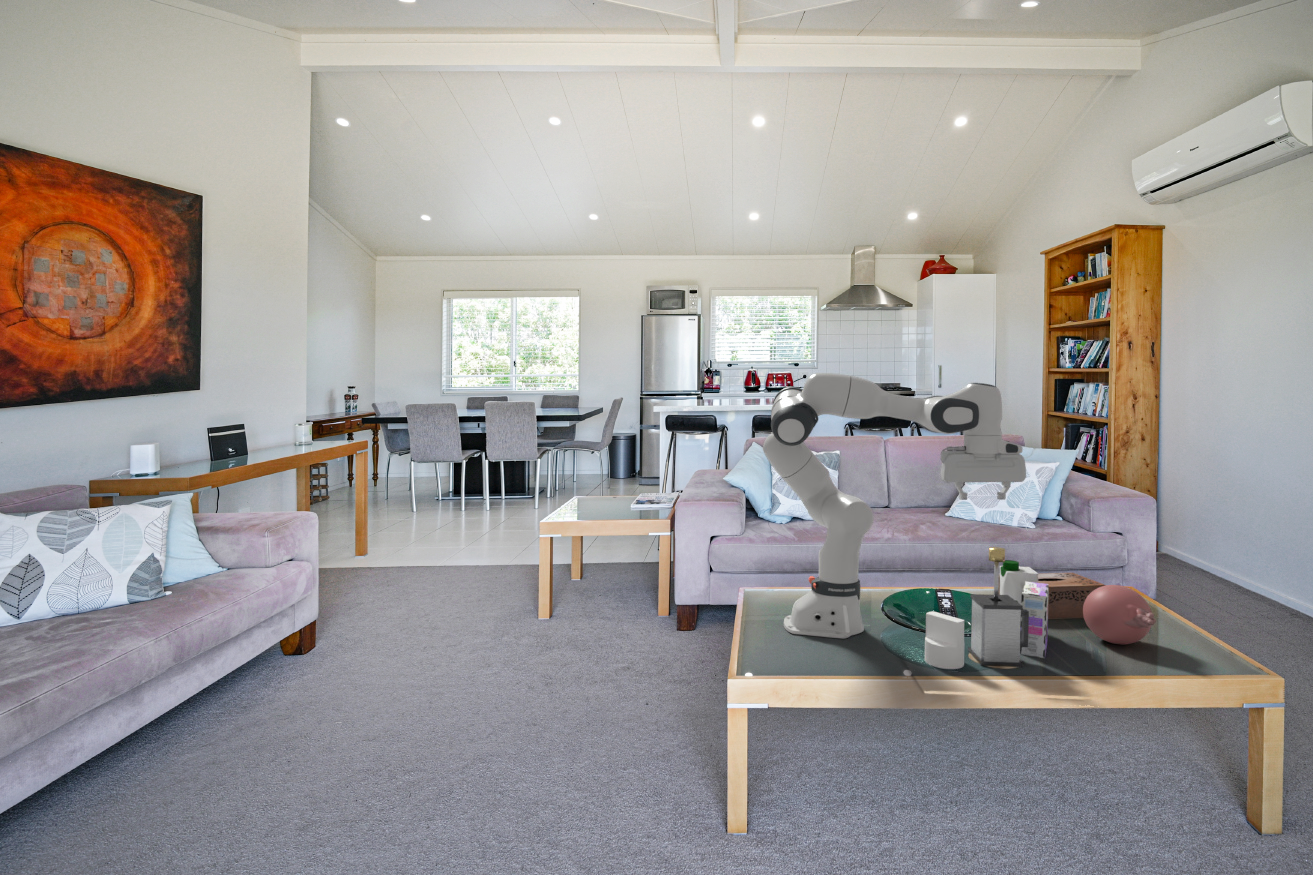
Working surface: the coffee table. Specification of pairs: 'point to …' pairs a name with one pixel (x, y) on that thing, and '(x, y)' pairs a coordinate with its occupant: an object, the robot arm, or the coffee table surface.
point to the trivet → (989, 666)
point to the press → (998, 630)
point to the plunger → (996, 565)
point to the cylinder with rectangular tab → (944, 641)
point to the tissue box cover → (1066, 593)
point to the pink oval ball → (1117, 614)
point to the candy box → (1036, 618)
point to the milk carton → (1015, 579)
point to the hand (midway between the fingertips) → (982, 499)
